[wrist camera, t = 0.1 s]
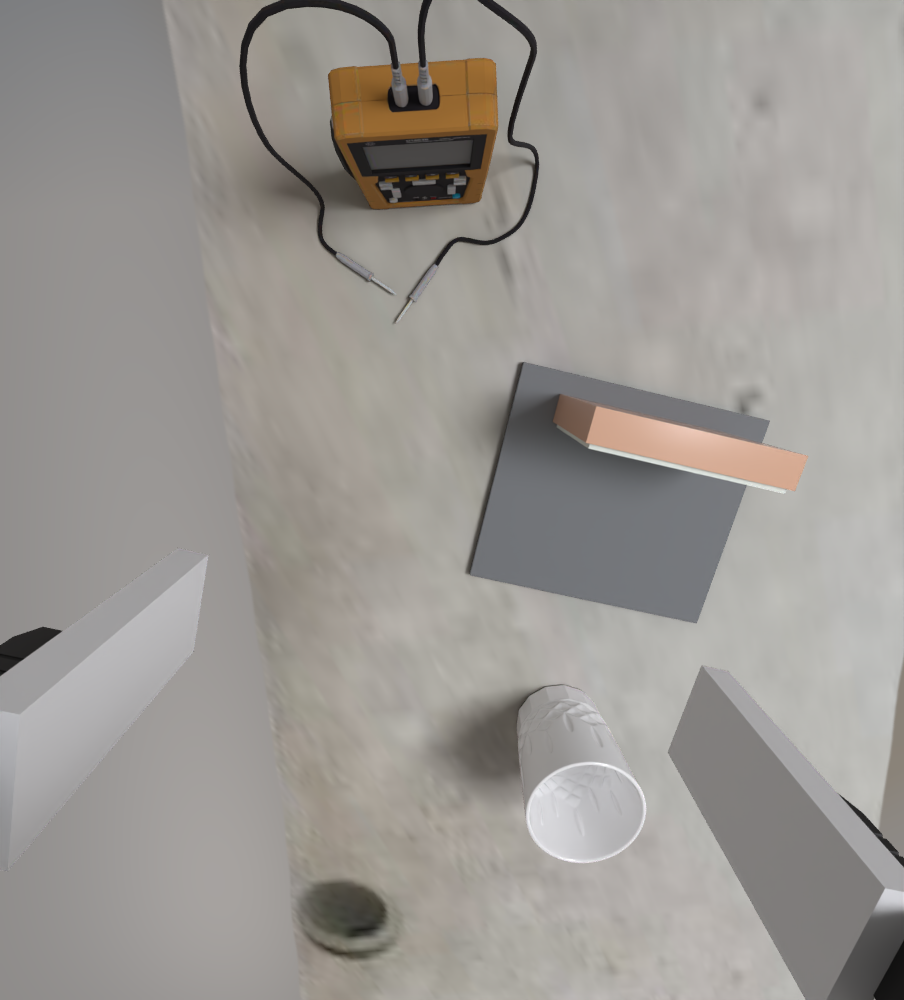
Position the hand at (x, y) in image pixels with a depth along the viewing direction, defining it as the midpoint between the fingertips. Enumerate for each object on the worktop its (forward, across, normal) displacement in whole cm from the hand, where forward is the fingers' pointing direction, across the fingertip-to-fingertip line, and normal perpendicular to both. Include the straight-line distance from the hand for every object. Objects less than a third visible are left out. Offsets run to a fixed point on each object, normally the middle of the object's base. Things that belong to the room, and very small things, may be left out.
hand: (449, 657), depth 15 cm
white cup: (+28, +14, -19) cm, 37 cm away
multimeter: (+28, -5, +14) cm, 32 cm away
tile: (+27, +12, +6) cm, 31 cm away
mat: (+28, +13, 0) cm, 31 cm away
